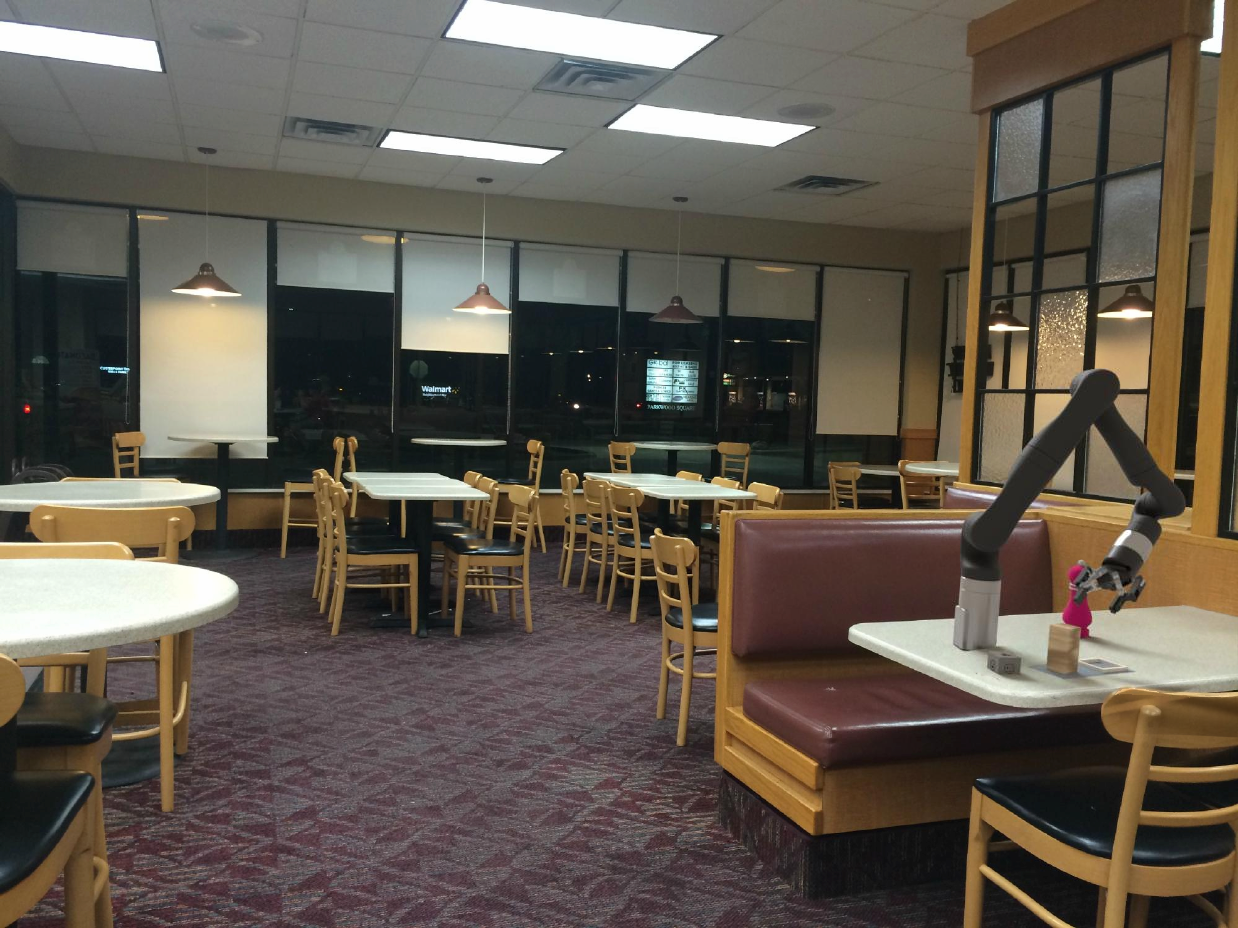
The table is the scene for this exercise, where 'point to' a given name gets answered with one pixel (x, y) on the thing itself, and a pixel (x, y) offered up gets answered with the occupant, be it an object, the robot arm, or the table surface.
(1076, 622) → the pepper mill
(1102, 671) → the building board
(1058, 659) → the wooden pillar
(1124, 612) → the table surface
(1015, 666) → the dice cube
